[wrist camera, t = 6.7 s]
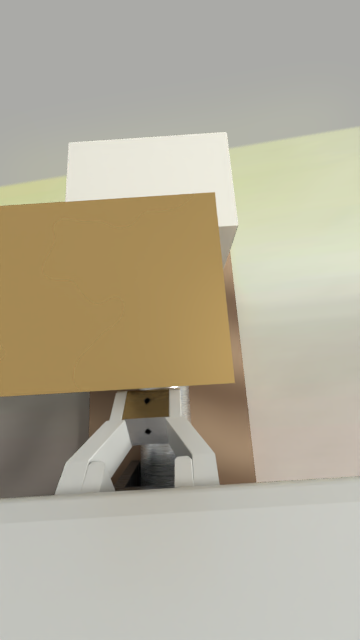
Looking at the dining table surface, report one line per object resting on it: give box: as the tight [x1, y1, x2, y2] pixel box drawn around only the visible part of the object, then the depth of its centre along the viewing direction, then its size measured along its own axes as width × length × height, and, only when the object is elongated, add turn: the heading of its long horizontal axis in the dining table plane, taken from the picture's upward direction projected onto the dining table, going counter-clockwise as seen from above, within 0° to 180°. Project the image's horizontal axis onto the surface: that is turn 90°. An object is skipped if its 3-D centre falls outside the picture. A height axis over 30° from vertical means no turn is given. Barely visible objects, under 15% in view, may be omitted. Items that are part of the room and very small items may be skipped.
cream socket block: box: [65, 132, 238, 269], centre depth 17 cm, size 6×9×7 cm, turn 93°
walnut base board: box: [89, 252, 256, 486], centre depth 18 cm, size 29×11×1 cm, turn 3°
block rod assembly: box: [0, 192, 235, 487], centre depth 10 cm, size 18×4×14 cm, turn 3°
